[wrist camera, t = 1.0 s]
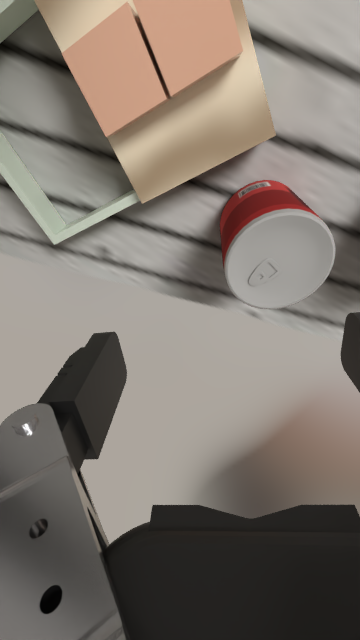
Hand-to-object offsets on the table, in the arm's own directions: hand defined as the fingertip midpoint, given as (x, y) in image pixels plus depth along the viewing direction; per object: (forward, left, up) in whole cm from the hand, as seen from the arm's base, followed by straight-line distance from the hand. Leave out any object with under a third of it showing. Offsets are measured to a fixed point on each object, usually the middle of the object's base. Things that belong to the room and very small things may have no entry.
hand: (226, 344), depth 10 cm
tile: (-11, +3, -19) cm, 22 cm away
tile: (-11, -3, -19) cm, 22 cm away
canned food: (+4, +3, -23) cm, 24 cm away
